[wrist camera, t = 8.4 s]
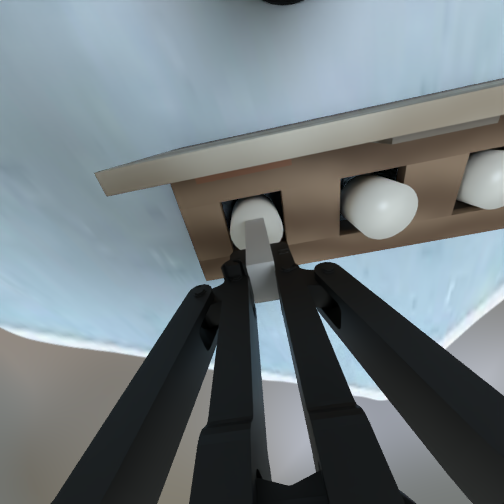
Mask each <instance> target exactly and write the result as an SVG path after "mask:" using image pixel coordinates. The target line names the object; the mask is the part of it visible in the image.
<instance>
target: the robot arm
mask: <svg viewBox="0 0 504 504" xmlns="http://www.w3.org/2000/svg"><path fill="white" fill-rule="evenodd" d="M245 244H246V249H243V250H237V251H233V252H232V254H231V255H230V260H229V261H227V262H225V263H224V264H223V265H222V266H221V270H222V273H223V276H224V283H223V284H221V285H220V286H218V287H215V288H213V289H212V288H211V286H209V285H206V284H203V285H199V286H196V287H194V288H193V289H191V290H190V292H189V293H188V294H187V296H186V297H185V299H184V300H183V302H182V304H181V305H180V307H179V308H178V310H177V311H176V313H175V314H174V316H173V317H172V319H171V320H170V322H169V324H168V325H167V327H166V328H165V330H164V331H163V333H162V334H161V336H160V337H159V339H158V340H157V342H156V344H155V345H154V347H153V348H152V350H151V351H150V353H149V354H148V356H147V357H146V359H145V361H144V362H143V364H142V365H141V367H140V368H139V370H138V371H137V373H136V374H135V376H134V377H133V379H132V380H131V382H130V384H129V385H128V387H127V388H126V390H125V391H124V393H123V394H122V396H121V397H120V399H119V400H118V402H117V404H116V405H115V407H114V408H113V410H112V411H111V413H110V414H109V416H108V418H107V419H106V420H105V422H104V424H103V425H102V427H101V428H100V430H99V431H98V433H97V434H96V436H95V437H94V439H93V441H92V442H91V444H90V445H89V447H88V448H87V450H86V451H85V453H84V454H83V456H82V457H81V459H80V461H79V462H78V464H77V465H76V467H75V468H74V470H73V471H72V473H71V474H70V476H69V477H68V479H67V481H66V482H65V484H64V485H63V487H62V488H61V490H60V491H59V493H58V494H57V496H56V497H55V499H54V500H53V501H52V503H51V504H157V503H158V500H159V497H160V495H161V492H162V489H163V487H164V484H165V481H166V478H167V476H168V473H169V471H170V468H171V465H172V463H173V460H174V457H175V455H176V452H177V449H178V447H179V444H180V441H181V439H182V436H183V433H184V430H185V428H186V425H187V423H188V420H189V417H190V415H191V412H192V409H193V407H194V404H195V401H196V398H197V396H198V393H199V391H200V388H201V385H202V382H203V380H204V377H205V375H206V372H207V369H208V367H209V364H210V361H211V359H212V356H213V353H214V351H215V348H216V345H217V348H216V357H215V365H214V374H213V382H212V391H211V399H210V408H209V417H208V422H207V425H206V426H205V427H204V428H203V429H202V431H201V433H200V436H199V440H198V445H197V453H196V459H195V466H194V473H193V481H192V487H191V495H190V502H189V504H416V503H415V502H414V501H413V500H411V499H410V498H409V497H408V496H406V495H405V494H404V493H403V492H401V491H400V490H399V489H398V487H397V484H396V482H395V480H394V477H393V475H392V473H391V471H390V468H389V466H388V464H387V461H386V459H385V457H384V454H383V452H382V450H381V448H380V445H379V443H378V441H377V439H376V436H375V434H374V432H373V429H372V427H371V424H370V422H369V421H368V418H367V416H366V414H365V412H364V411H363V409H362V408H361V407H360V406H358V405H357V404H356V402H355V400H354V398H353V396H352V394H351V391H350V389H349V386H348V384H347V381H346V379H345V377H344V374H343V372H342V369H341V367H340V365H339V362H338V360H337V357H336V355H335V352H334V350H333V348H332V345H331V343H330V340H329V338H328V335H327V333H326V331H325V328H324V326H323V323H322V321H321V319H320V316H319V314H318V312H319V313H320V314H321V315H322V317H323V318H324V319H325V320H326V322H327V323H328V324H329V325H330V327H331V328H332V329H333V330H334V332H335V333H336V334H337V335H338V337H339V338H340V339H341V340H342V342H343V343H344V344H345V346H346V347H347V348H348V349H349V351H350V352H351V353H352V354H353V356H354V357H355V358H356V359H357V361H358V362H359V363H360V364H361V366H362V367H363V368H364V369H365V371H366V372H367V373H368V374H369V376H370V377H371V378H372V379H373V381H374V382H375V383H376V385H377V386H378V387H379V388H380V390H381V391H382V392H383V393H384V395H385V396H386V397H387V398H388V400H389V401H390V402H391V403H392V405H393V406H394V407H395V408H396V410H397V411H398V412H399V413H400V415H401V416H402V417H403V418H404V420H405V421H406V422H407V424H408V425H409V426H410V427H411V429H412V430H413V431H414V432H415V434H416V435H417V436H418V437H419V439H420V440H421V441H422V442H423V444H424V445H425V446H426V447H427V449H428V450H429V451H430V453H431V454H432V455H433V456H434V457H435V459H436V460H437V461H438V463H439V464H440V465H441V466H442V468H443V469H444V470H445V471H446V473H447V474H448V475H449V476H450V477H451V479H452V480H453V481H454V482H455V483H456V484H457V486H458V487H459V488H460V489H461V490H462V491H463V493H464V494H465V495H466V496H467V497H468V499H469V500H470V501H471V502H472V503H473V504H504V396H503V395H502V394H500V393H499V392H498V391H497V390H495V389H494V388H493V387H492V386H491V385H489V384H488V383H487V382H485V381H484V380H483V379H482V378H480V377H479V376H478V375H477V374H475V373H474V372H473V371H472V370H470V369H469V368H468V367H467V366H465V365H464V364H463V363H461V362H460V361H459V360H458V359H456V358H455V357H454V356H452V355H451V354H450V353H449V352H448V351H446V350H445V349H444V348H443V347H441V346H440V345H439V344H437V343H436V342H435V341H434V340H432V339H431V338H430V337H429V336H427V335H426V334H425V333H424V332H422V331H421V330H420V329H419V328H417V327H416V326H415V325H413V324H412V323H411V322H410V321H408V320H407V319H406V318H405V317H403V316H402V315H401V314H400V313H398V312H397V311H396V310H395V309H393V308H392V307H391V306H389V305H388V304H387V303H386V302H384V301H383V300H382V299H381V298H379V297H378V296H377V295H376V294H374V293H373V292H372V291H371V290H369V289H368V288H367V287H365V286H364V285H363V284H362V283H360V282H359V281H358V280H357V279H355V278H354V277H353V276H352V275H350V274H349V273H348V272H347V271H345V270H344V269H343V268H341V267H340V266H339V265H337V264H335V263H331V262H324V263H320V264H318V265H316V266H315V268H314V270H305V269H301V268H299V266H298V265H297V264H296V263H295V261H294V259H293V256H292V254H291V251H290V249H289V246H288V244H286V243H285V242H278V243H272V244H270V243H269V239H268V235H267V231H266V227H265V222H264V218H258V219H253V220H248V221H245ZM279 299H280V304H281V310H282V315H283V318H284V323H285V327H286V332H287V337H288V341H289V346H290V351H291V355H292V360H293V365H294V369H295V374H296V378H297V383H298V388H299V392H300V397H301V401H302V406H303V411H304V415H305V420H306V425H307V429H308V434H309V439H310V443H311V448H312V453H313V459H314V464H315V469H316V473H314V474H312V475H310V476H309V477H307V478H305V479H303V480H301V481H299V482H297V483H295V484H294V485H290V486H288V485H283V484H279V483H276V482H272V480H271V472H270V465H269V460H268V452H267V440H266V428H265V415H264V403H263V390H262V378H261V365H260V353H259V340H258V328H257V315H256V307H255V303H261V302H267V301H273V300H279ZM254 301H255V303H254ZM316 308H317V309H316ZM317 310H318V311H317Z"/></svg>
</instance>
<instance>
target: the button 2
mask: <svg viewBox="0 0 504 504" xmlns="http://www.w3.org/2000/svg"><path fill="white" fill-rule="evenodd" d="M456 200H458V201H461V202H464V203H468V204H471V205H474V206H477V207H480V208H483V209H497V208H500V207H503V206H504V150H491V149H487V150H482V151H477V152H472V153H470V154H469V158H468V161H467V164H466V168H465V171H464V175H463V178H462V181H461V185H460V188H459V191H458V195H457V198H456Z"/></svg>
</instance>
